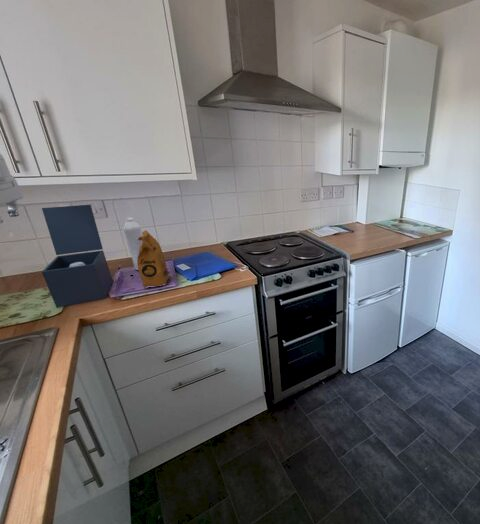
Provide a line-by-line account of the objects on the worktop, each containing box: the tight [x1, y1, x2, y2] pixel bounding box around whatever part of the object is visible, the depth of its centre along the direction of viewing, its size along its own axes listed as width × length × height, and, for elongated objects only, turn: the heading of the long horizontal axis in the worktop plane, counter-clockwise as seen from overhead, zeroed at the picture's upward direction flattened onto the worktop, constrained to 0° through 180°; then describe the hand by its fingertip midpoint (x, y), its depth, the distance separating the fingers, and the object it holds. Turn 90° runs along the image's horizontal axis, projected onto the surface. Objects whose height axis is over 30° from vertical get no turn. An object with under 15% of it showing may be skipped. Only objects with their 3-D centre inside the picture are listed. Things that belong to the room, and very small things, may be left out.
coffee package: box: [137, 229, 170, 288], centre depth 125 cm, size 10×12×22 cm
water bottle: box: [123, 216, 143, 270], centre depth 138 cm, size 9×6×25 cm
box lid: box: [41, 204, 104, 256], centre depth 121 cm, size 18×15×4 cm
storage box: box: [41, 249, 114, 308], centre depth 117 cm, size 18×15×14 cm
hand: (6, 219), depth 88 cm, fingers open, 8 cm apart
